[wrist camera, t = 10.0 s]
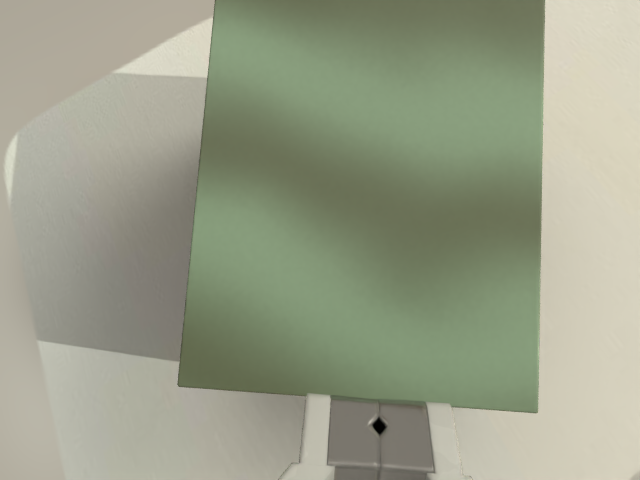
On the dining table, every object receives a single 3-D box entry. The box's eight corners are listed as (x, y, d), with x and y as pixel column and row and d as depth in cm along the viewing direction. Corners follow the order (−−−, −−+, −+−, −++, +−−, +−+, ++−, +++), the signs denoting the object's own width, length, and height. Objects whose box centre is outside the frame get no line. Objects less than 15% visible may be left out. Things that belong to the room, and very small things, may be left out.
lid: (220, -9, 24) (216, -20, 23) (538, 6, 23) (545, -5, 23) (182, 384, 22) (176, 386, 21) (531, 410, 21) (538, 413, 20)
